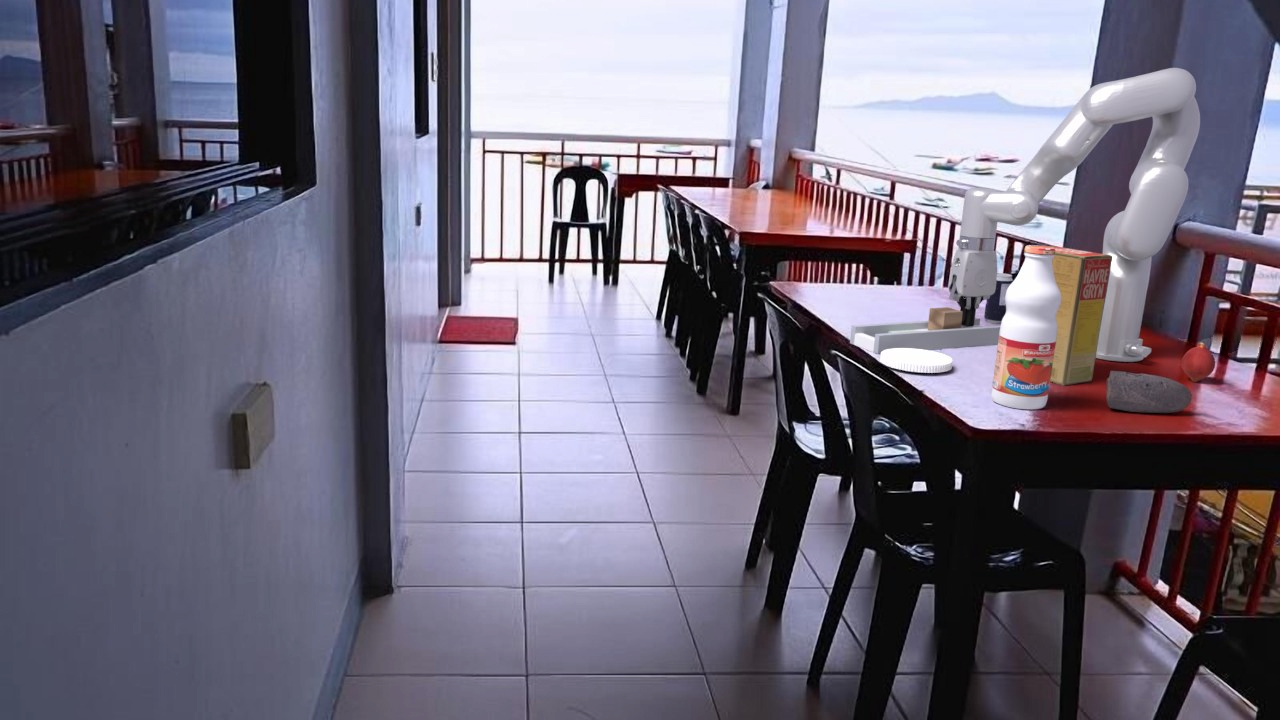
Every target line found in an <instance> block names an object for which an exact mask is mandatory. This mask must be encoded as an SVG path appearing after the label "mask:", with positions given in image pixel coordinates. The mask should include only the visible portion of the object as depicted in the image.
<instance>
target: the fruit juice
mask: <svg viewBox="0 0 1280 720" xmlns="http://www.w3.org/2000/svg"><path fill="white" fill-rule="evenodd" d="M1023 250H1024V251H1023V252H1024V253H1023V255H1024V257H1025V258H1024V261H1023V263H1022V266H1021V267H1020V270H1019V272H1018V274H1017V276H1016V277H1015V278H1014V279H1013V282H1012V283H1011V285H1010V286H1009V287H1008V289H1007V291H1006V295H1005V303H1006V313H1005V315H1004V317H1003V319H1002V322H1001V324H1000V325H999V326H1000V332H999V340H998V345H997V349H996V356H995V364H994V369H993V370H994V371H993V379H992V385H991V396H990V397H991V400H992V402H994V403H997V404H999V405H1001V406H1004V407H1008V408H1012V409H1018V410H1040V409H1043V408H1045V407H1046V405H1047V402H1048V400H1049V399H1048V398H1049V392H1050V385H1051V384H1050V383H1051V382H1050V379H1051V372H1052V366H1053V359H1054V352H1055V346H1056V340H1057V330H1058V325H1057V321H1056V314H1057V312H1058V310H1059V307H1060V305H1061V292H1060V290H1059V288H1058V286H1057V283H1056V280H1055V276H1054V271H1053V266H1052V259H1053V258H1054V255H1055V248H1053V247H1048V246H1047V245H1037V244H1036V245H1035V244H1031V245H1030V244H1029V245H1026V246H1025V247H1024V249H1023Z"/></svg>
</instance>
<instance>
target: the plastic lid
mask: <svg viewBox="0 0 1280 720" xmlns="http://www.w3.org/2000/svg"><path fill="white" fill-rule="evenodd" d="M953 360H954V359H953V358H952V357H951V356H949V355H947V354H944V353H941V352H937V351H936V350H935V351H934V350H923V349H914V348H893V349H887V350H884V351H882V352H881V354H880V359H879V361H880V363H881V364H883V365H884V366H887V367H889V368H892V369H896V370H899V371H901V370H902V371H905V372H911V373H921V374H922V373H925V374H926V373H927V374H930V373H931V374H933V373H934V374H935V373H937V374H938V373H945V372H949V371H951V370H952V367H953Z"/></svg>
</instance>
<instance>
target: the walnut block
mask: <svg viewBox="0 0 1280 720" xmlns="http://www.w3.org/2000/svg"><path fill="white" fill-rule="evenodd" d="M962 314H963V312H962V311H960V309H959V310H958V309H955V308H952V307H948V306H944V307H930V308H929V312H928V320H927V321H928V329H927V330H942V329H957V328H961V323H962Z"/></svg>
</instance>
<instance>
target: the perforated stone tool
mask: <svg viewBox="0 0 1280 720" xmlns="http://www.w3.org/2000/svg"><path fill="white" fill-rule="evenodd" d="M1105 392H1106V398H1105V399H1106V402H1107V405H1108V408H1110V409H1113V410H1118V411H1123V412H1124V411H1125V412H1131V413H1145V414H1172V413H1177V412H1181V411H1183V410H1185V409H1186V408H1187V407H1189V405H1190V404H1191V402H1192V400H1193V399H1192V395H1193V394H1192V390H1190V389H1189V388H1188V387H1187V386H1185V385H1184V384H1183V383H1181V382H1178V381H1176V380H1173V379H1171V378H1167V377H1163V376H1160V375H1154V374H1147V373H1133V372H1129V371H1128V372H1127V371H1119V370H1110V372H1109V377H1108V378H1107V379H1106V388H1105Z"/></svg>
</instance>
